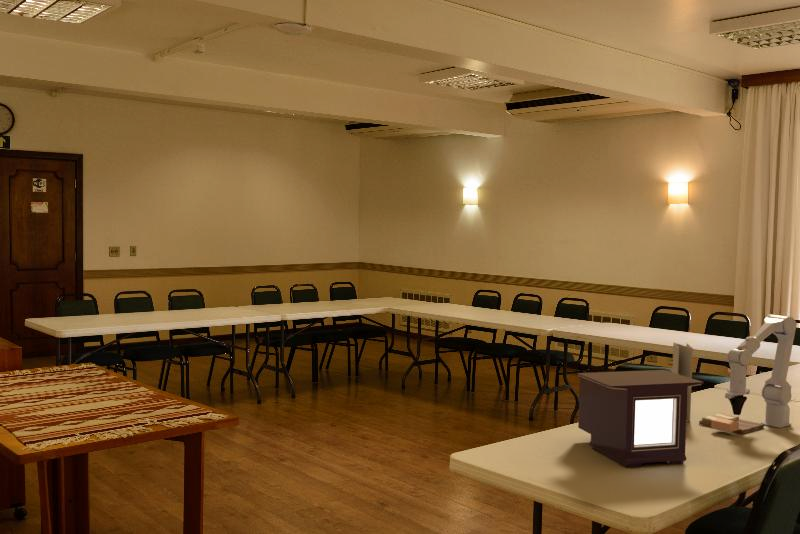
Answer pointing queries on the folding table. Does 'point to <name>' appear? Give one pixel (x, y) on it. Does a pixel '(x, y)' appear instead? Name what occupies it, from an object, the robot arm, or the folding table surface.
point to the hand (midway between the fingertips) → (736, 414)
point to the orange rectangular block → (725, 425)
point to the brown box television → (635, 415)
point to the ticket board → (743, 425)
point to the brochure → (683, 367)
